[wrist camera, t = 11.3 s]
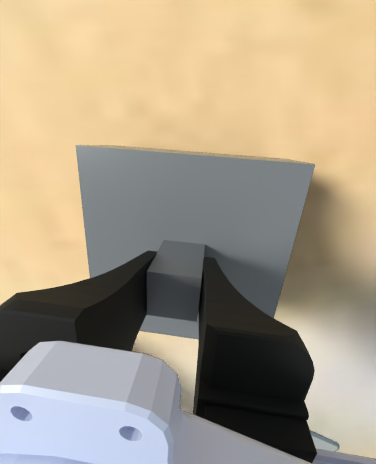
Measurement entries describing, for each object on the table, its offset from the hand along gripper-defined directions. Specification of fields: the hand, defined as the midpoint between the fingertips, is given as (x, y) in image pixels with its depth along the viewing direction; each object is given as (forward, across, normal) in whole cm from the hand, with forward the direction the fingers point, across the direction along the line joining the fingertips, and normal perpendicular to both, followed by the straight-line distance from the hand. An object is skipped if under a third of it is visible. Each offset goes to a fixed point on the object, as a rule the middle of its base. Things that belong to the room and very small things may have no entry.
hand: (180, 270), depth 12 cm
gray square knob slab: (+6, 0, 0) cm, 6 cm away
